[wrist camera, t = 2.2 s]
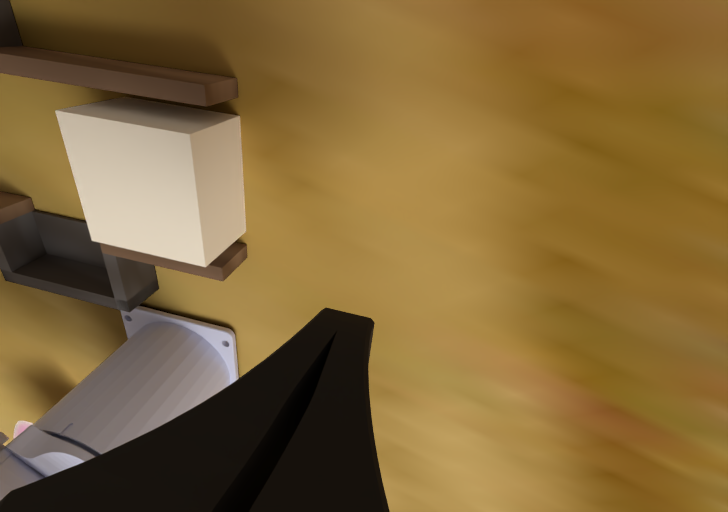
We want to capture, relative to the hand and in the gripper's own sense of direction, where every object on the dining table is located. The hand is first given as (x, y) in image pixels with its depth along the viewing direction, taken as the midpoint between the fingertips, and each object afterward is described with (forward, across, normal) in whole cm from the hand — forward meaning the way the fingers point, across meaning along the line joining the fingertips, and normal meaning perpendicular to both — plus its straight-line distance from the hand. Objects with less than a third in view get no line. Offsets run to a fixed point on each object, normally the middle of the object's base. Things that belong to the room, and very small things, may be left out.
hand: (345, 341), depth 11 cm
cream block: (+10, +11, 0) cm, 15 cm away
